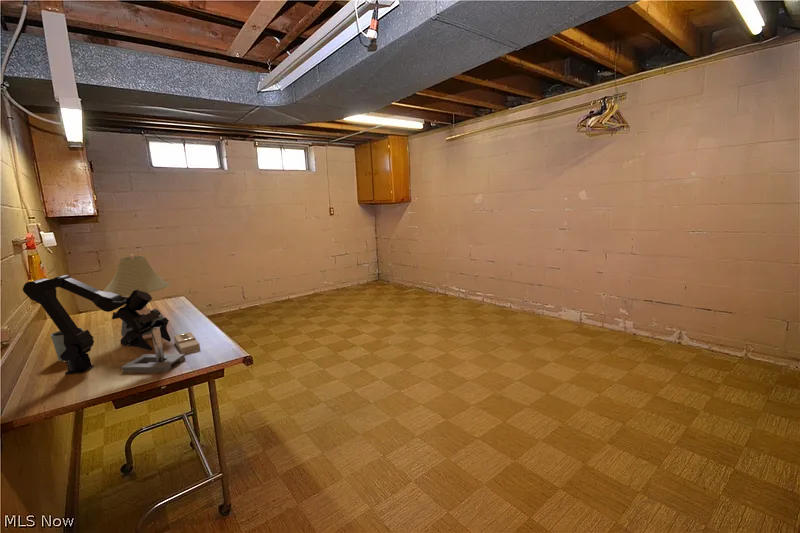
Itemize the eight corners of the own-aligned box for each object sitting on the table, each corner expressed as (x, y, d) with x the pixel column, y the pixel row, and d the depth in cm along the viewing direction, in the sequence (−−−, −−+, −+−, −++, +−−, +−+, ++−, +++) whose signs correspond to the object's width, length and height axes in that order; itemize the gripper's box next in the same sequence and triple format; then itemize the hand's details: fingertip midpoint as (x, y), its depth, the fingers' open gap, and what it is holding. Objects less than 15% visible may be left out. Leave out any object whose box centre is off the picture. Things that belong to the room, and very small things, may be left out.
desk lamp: (124, 350, 161) (107, 260, 153) (105, 338, 178) (89, 256, 170) (185, 333, 181) (173, 253, 173) (163, 323, 198) (151, 249, 190)
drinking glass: (54, 364, 149) (48, 337, 146) (58, 356, 157) (52, 331, 154) (86, 358, 154) (80, 331, 152) (88, 350, 162) (83, 325, 160)
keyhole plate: (121, 372, 139) (120, 367, 139) (145, 359, 151) (144, 354, 151) (165, 372, 138) (164, 367, 138) (185, 359, 150) (184, 354, 149)
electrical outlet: (180, 346, 154) (173, 335, 168) (182, 355, 155) (174, 343, 169) (199, 341, 159) (190, 331, 172) (200, 350, 160) (191, 339, 173)
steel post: (151, 368, 142) (145, 330, 139) (158, 363, 147) (152, 326, 144) (164, 368, 142) (158, 330, 139) (170, 362, 147) (165, 326, 144)
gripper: (121, 312, 131) (153, 341, 132) (161, 298, 149) (189, 324, 150) (107, 332, 134) (137, 360, 134) (148, 316, 152) (174, 341, 152)
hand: (161, 345), depth 143 cm, fingers open, 9 cm apart
